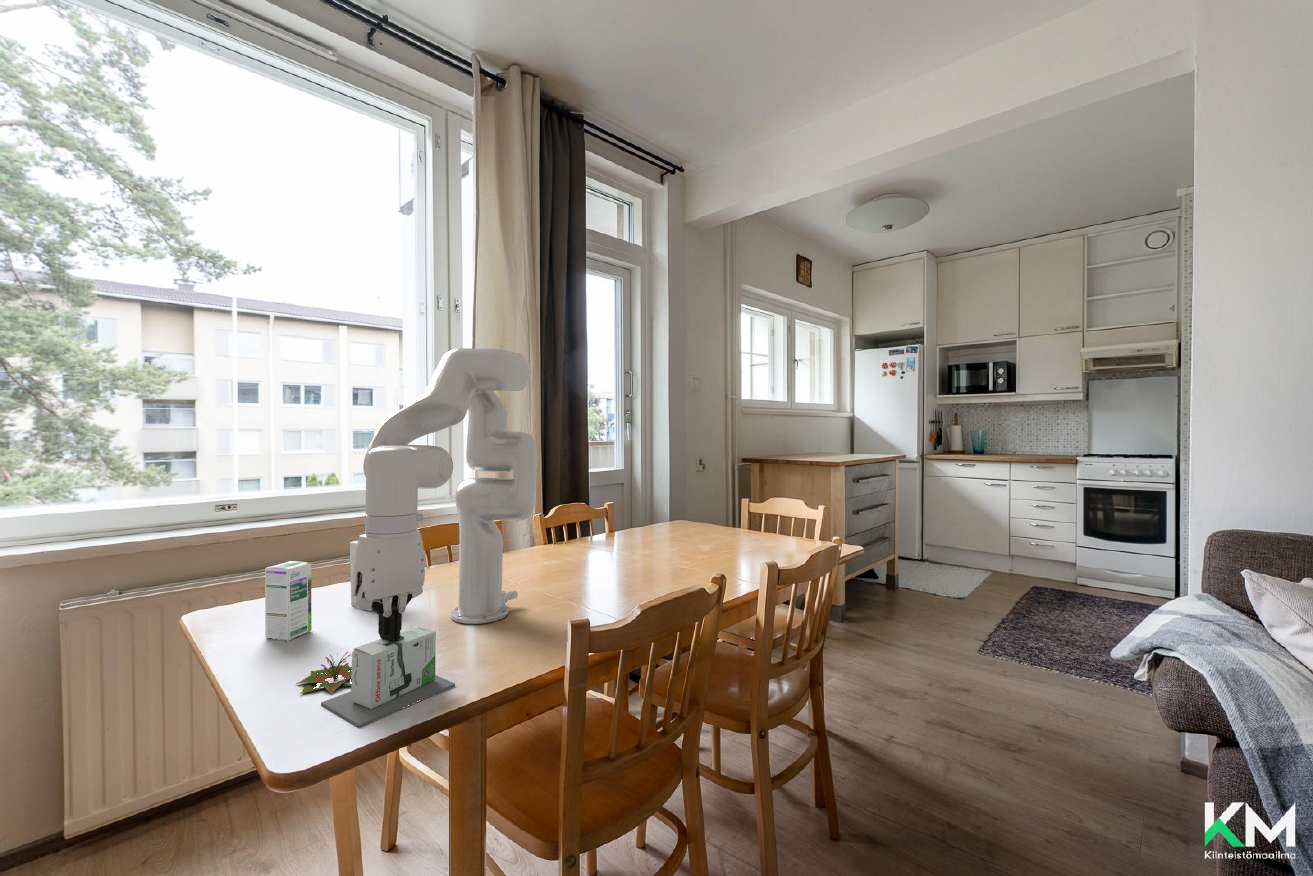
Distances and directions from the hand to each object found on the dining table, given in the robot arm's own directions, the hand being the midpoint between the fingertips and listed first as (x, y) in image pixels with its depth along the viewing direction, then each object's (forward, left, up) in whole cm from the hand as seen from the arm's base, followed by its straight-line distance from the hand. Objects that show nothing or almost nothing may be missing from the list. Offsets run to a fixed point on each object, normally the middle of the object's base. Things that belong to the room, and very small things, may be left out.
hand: (389, 638), depth 89 cm
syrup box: (-2, -40, -9) cm, 41 cm away
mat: (0, 0, -9) cm, 9 cm away
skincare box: (-22, -45, -9) cm, 51 cm away
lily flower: (+2, -12, -10) cm, 16 cm away
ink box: (-7, 0, -4) cm, 8 cm away
